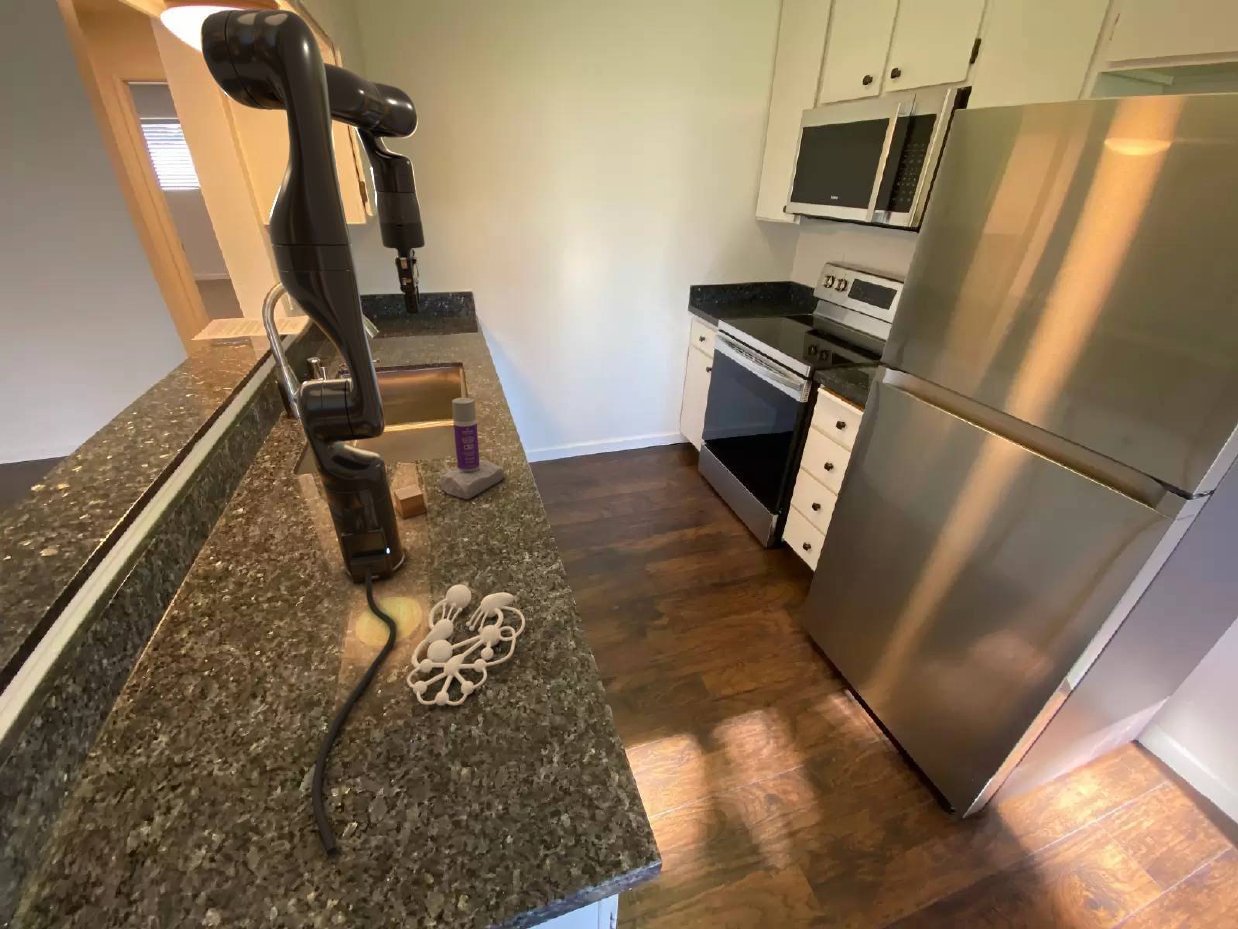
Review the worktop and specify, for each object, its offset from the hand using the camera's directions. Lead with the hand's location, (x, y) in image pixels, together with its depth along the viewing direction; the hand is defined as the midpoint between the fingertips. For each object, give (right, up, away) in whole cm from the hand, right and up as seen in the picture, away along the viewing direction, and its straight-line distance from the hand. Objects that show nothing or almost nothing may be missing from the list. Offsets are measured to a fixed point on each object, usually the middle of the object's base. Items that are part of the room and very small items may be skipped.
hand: (413, 308), depth 104 cm
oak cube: (-1, -41, +1) cm, 41 cm away
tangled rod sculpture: (+20, -58, -29) cm, 68 cm away
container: (+9, -32, +9) cm, 34 cm away
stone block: (+8, -36, +11) cm, 38 cm away
